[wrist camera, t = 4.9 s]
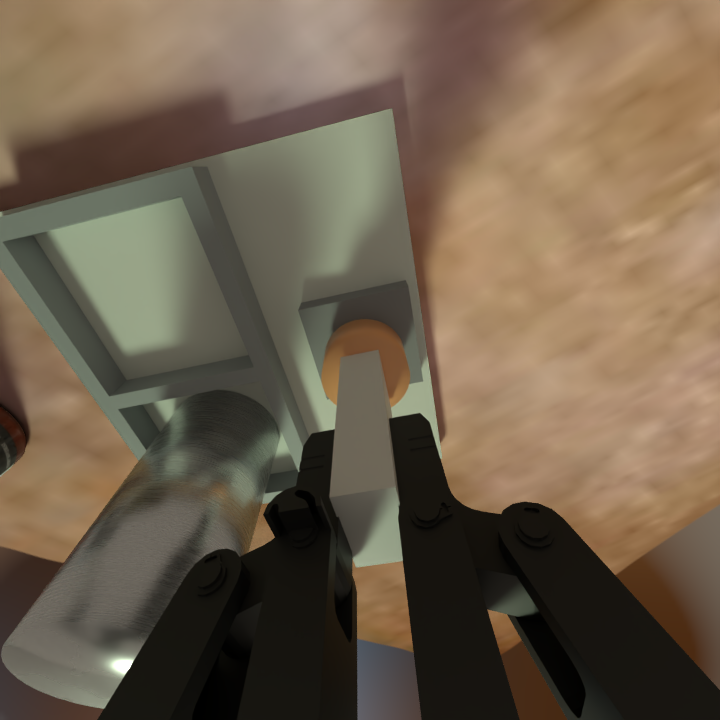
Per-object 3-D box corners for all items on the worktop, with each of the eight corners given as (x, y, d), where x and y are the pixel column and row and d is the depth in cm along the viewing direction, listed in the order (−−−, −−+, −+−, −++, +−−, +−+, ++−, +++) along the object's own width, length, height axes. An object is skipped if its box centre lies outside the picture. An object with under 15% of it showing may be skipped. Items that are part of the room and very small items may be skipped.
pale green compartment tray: (-10, 217, 15) (-71, 225, 13) (389, 112, 14) (396, 101, 12) (177, 491, 24) (159, 523, 22) (438, 446, 22) (447, 477, 20)
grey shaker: (154, 400, 19) (-49, 637, 10) (258, 380, 19) (153, 609, 9) (201, 477, 22) (81, 718, 12) (292, 461, 21) (241, 700, 12)
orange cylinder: (315, 328, 15) (310, 349, 13) (397, 311, 15) (402, 330, 13) (336, 395, 17) (333, 421, 15) (409, 381, 17) (416, 406, 15)
